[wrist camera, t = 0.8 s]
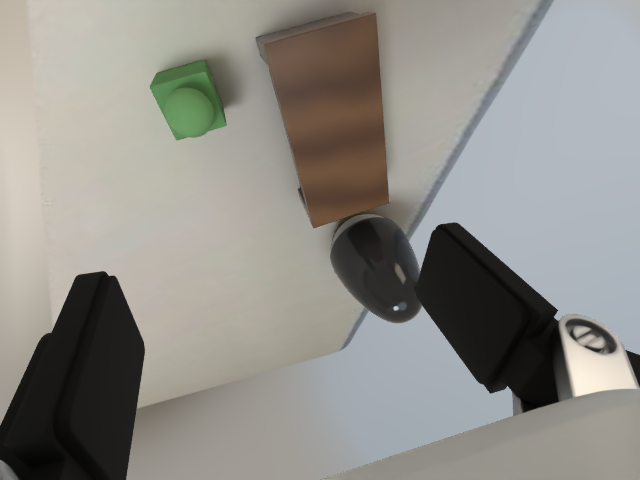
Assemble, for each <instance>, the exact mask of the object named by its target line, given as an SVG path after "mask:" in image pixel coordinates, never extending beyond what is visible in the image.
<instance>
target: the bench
mask: <svg viewBox="0 0 640 480" xmlns="http://www.w3.org/2000/svg"><path fill="white" fill-rule="evenodd" d="M256 42H257V46H258V49H259V53H260V56H261V57H262V58H263V60H264V61H265V62H266V63H267V65H268V68H269V71H270V75H271V79H272V82H273V86H274V90H275V93H276V97H277V101H278V104H279V108H280V112H281V116H282V119H283V123H284V127H285V130H286V134H287V138H288V141H289V145H290V149H291V152H292V156H293V160H294V163H295V167H296V171H297V175H298V178H299V182H300V186H301V189H298V192H299V196H300V199H301V202H302V204H303V206H304V208H305V210H306V212H307V215H308V217H309V219H310V222H311V224H312V226H313V228H316V227H319V226H322V225H325V224H328V223H331V222H334V221H337V220H340V219H343V218H346V217H348V216H351V215H354V214H357V213H360V212H363V211H366V210H369V209H372V208H375V207H378V206H381V205H384V204H387V203H389V194H388V180H387V165H386V151H385V137H384V123H383V108H382V94H381V80H380V66H379V51H378V37H377V23H376V13H372V12H366V13H362V14H358V13H353V12H347V13H343V14H340V15H336V16H333V17H329V18H325V19H322V20H318V21H315V22H311V23H307V24H304V25H300V26H297V27H293V28H290V29H286V30H282V31H279V32H275V33H272V34H268V35H264V36H261V37H257V38H256Z"/></svg>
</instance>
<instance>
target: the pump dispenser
mask: <svg viewBox="0 0 640 480" xmlns="http://www.w3.org/2000/svg"><path fill="white" fill-rule="evenodd" d="M330 259H331V264H332V267H333V269H334V271H335V273H336V274H337V276H338V277H339V279H340V280H341V282H342V283H343V285H344V286H345V287H346V289H347V290H348V291H349V292H350V293H351V294H352V296H353V297H354V298H355V299H356V300H357V301H359V302H360V303H361V304H362V305H363V306H364V307H366V308H367V309H368V310H369V311H371V312H372V313H373V314H375V315H377V316H378V317H380V318H382V319H384V320H386V321H389V322H392V323H404V322H407V321H409V320H411V319H413V318H414V317H415V316H416V315H417V314H418V313H419V311H420V309H421V307H422V304H421V303H420V302H419V300H418V299H417V296H416V293H415V289H416V285H417V282H418V278H419V275H420V269H419V265H418V262H417V259H416V257H415V254H414V251H413V249H412V247H411V245H410V243H409V241H408V239H407V238H406V236H405V234H404V233H403V231H402V230H401V228H400V227H399V226H398V225H397V224H396V223H395V222H393V221H392V220H390V219H387V218H384V217H381V216H378V215H374V214H362V215H358V216H355V217H352V218H351V219H349V220H347V221H346V222H345V223H343V224H342V225H341V226H340V227H339V229H338V230H337V232H336V233H335V235H334V238H333V240H332V245H331V255H330Z"/></svg>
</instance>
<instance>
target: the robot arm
mask: <svg viewBox="0 0 640 480" xmlns="http://www.w3.org/2000/svg"><path fill="white" fill-rule="evenodd" d="M415 293H416V296H417V299H418V300H419V302H420V303H421V304H422V306H423V307H424V308H425V310H426V311H427V313H428V314H429V315H430V316H431V318H432V320H433V321H434V322H435V324H436V325H437V326H438V328H439V329H440V331H441V332H442V333H443V335H444V336H445V337H446V339H447V340H448V342H449V343H450V344H451V346H452V347H453V348H454V350H455V351H456V353H457V354H458V355H459V357H460V358H461V360H462V361H463V362H464V364H465V365H466V366H467V368H468V369H469V370H470V372H471V373H472V375H473V376H474V377H475V379H476V380H477V381H478V382H479V383H480V384H484V386H485V387H486V389H487V390H488V391H489V393H494V392H497V391H501V390H504V389H506V387H507V386H508V387H509V388H510V389H511V391H512V393H513V416H512V417H509V418H506V419H503V420H500V421H497V422H494V423H491V424H488V425H485V426H482V427H479V428H476V429H473V430H469V431H466V432H463V433H460V434H457V435H454V436H451V437H448V438H445V439H442V440H439V441H436V442H433V443H431V444H427V445H424V446H421V447H418V448H415V449H412V450H409V451H406V452H403V453H400V454H397V455H394V456H391V457H388V458H385V459H382V460H379V461H376V462H373V463H370V464H367V465H364V466H361V467H358V468H355V469H352V470H349V471H346V472H343V473H340V474H337V475H334V476H331V477H328V478H325V479H322V480H640V355H638V354H635V353H632V352H629V351H627V350H625V348H624V346H623V344H622V342H621V341H620V339H619V337H618V336H617V335H616V334H615V333H614V332H613V331H612V330H610V329H609V328H608V327H606V326H605V325H603V324H601V323H600V322H598V321H596V320H594V319H591V318H589V317H586V316H582V315H577V314H568V315H565V316H562V318H561V319H560V320H559V321H557V320H556V319H555V318H554V316H555V314H556V313H557V311H558V310H557V309H556V308H555V307H553V306H552V305H551V304H550V303H549V302H548V301H547V300H546V299H544V298H543V297H542V296H541V295H540V294H539V293H538V292H536V291H535V290H534V289H533V288H532V287H531V286H529V285H528V284H527V283H526V282H525V281H524V280H523V279H522V278H520V277H519V276H518V275H517V274H516V273H515V272H514V271H512V270H511V269H510V268H509V267H508V266H507V265H505V264H504V263H503V262H502V261H501V260H500V259H499V258H497V257H496V256H495V255H494V254H493V253H492V252H491V251H489V250H488V249H487V248H486V247H485V246H484V245H483V244H481V243H480V242H479V241H478V240H477V239H476V238H475V237H473V236H472V235H471V234H470V233H469V232H468V231H466V230H465V229H464V228H463V227H462V226H461V225H460V224H458V223H447V224H440V225H438V226H437V227H436V229H435V230H434V231H433V232H432V234H431V238H430V241H429V244H428V248H427V251H426V254H425V258H424V261H423V265H422V268H421V271H420V275H419V278H418V282H417V285H416V289H415ZM144 354H145V347H144V342H143V339H142V337H141V334H140V332H139V330H138V327H137V325H136V323H135V320H134V318H133V315H132V313H131V311H130V308H129V306H128V304H127V301H126V299H125V297H124V294H123V292H122V289H121V287H120V285H119V282H118V280H117V278H116V277H115V276H108V274H107V273H106V272H104V271H102V272H95V273H87V274H80V275H78V276H76V278H75V280H74V282H73V284H72V287H71V289H70V291H69V294H68V296H67V298H66V301H65V303H64V305H63V308H62V310H61V312H60V314H59V317H58V319H57V321H56V324H55V326H54V328H53V331H52V333H48V334H46V335H44V336H43V337H42V338H41V340H40V341H39V343H38V345H37V347H36V349H35V351H34V354H33V356H32V358H31V360H30V362H29V365H28V367H27V369H26V371H25V373H24V375H23V378H22V380H21V382H20V384H19V386H18V389H17V391H16V393H15V395H14V397H13V400H12V401H11V404H10V406H9V408H8V410H7V413H6V415H5V417H4V419H3V421H2V423H1V425H0V480H126V476H127V469H128V462H129V455H130V449H131V442H132V435H133V428H134V422H135V415H136V408H137V402H138V395H139V388H140V382H141V375H142V368H143V361H144Z"/></svg>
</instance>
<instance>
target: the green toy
mask: <svg viewBox="0 0 640 480" xmlns="http://www.w3.org/2000/svg"><path fill="white" fill-rule="evenodd" d="M150 89H151V91H152V93H153V95H154V97H155V99H156V101H157V103H158V105H159V107H160V109H161V111H162V113H163V115H164V117H165V119H166V121H167V123H168V125H169V127H170V129H171V131H172V133H173V135H174V137H175V138H176V140H180V139H184V138H187V137H199V136H202V135H204V134H205V133H207V132H208V131H210V130H213V129H217V128H220V127H223V126H226V119H225V113H224V108H223V105H222V103H221V100H220V98H219V95H218V92H217V90H216V87H215V84H214V82H213V79H212V76H211V74H210V71H209V69H208V66H207V63H206V61H205V60H202V61H198V62H195V63H191V64H188V65H184V66H181V67H177V68H173V69H170V70H166V71H163V72H159V73H157V74H156V75H155V77H154V79H153V81H152V84H151V86H150Z"/></svg>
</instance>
